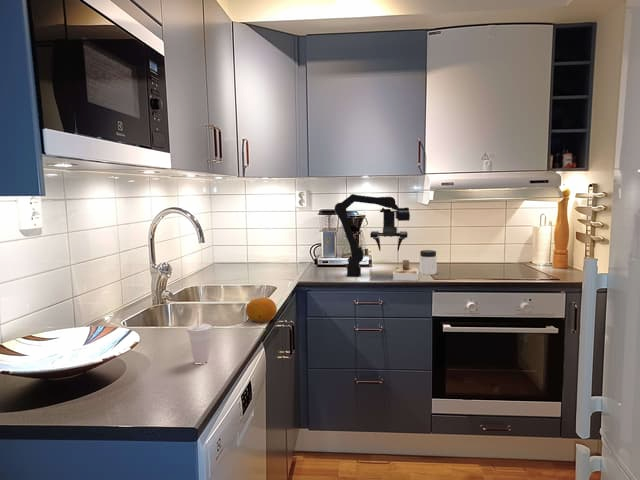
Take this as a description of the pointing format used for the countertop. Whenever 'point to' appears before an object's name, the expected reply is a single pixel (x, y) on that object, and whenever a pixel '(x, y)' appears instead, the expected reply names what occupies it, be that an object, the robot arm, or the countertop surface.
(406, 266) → the lid
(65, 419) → the countertop surface
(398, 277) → the dish
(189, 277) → the countertop surface
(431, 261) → the jar
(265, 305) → the fruit
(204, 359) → the smoothie
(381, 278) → the mat
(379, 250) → the robot arm
